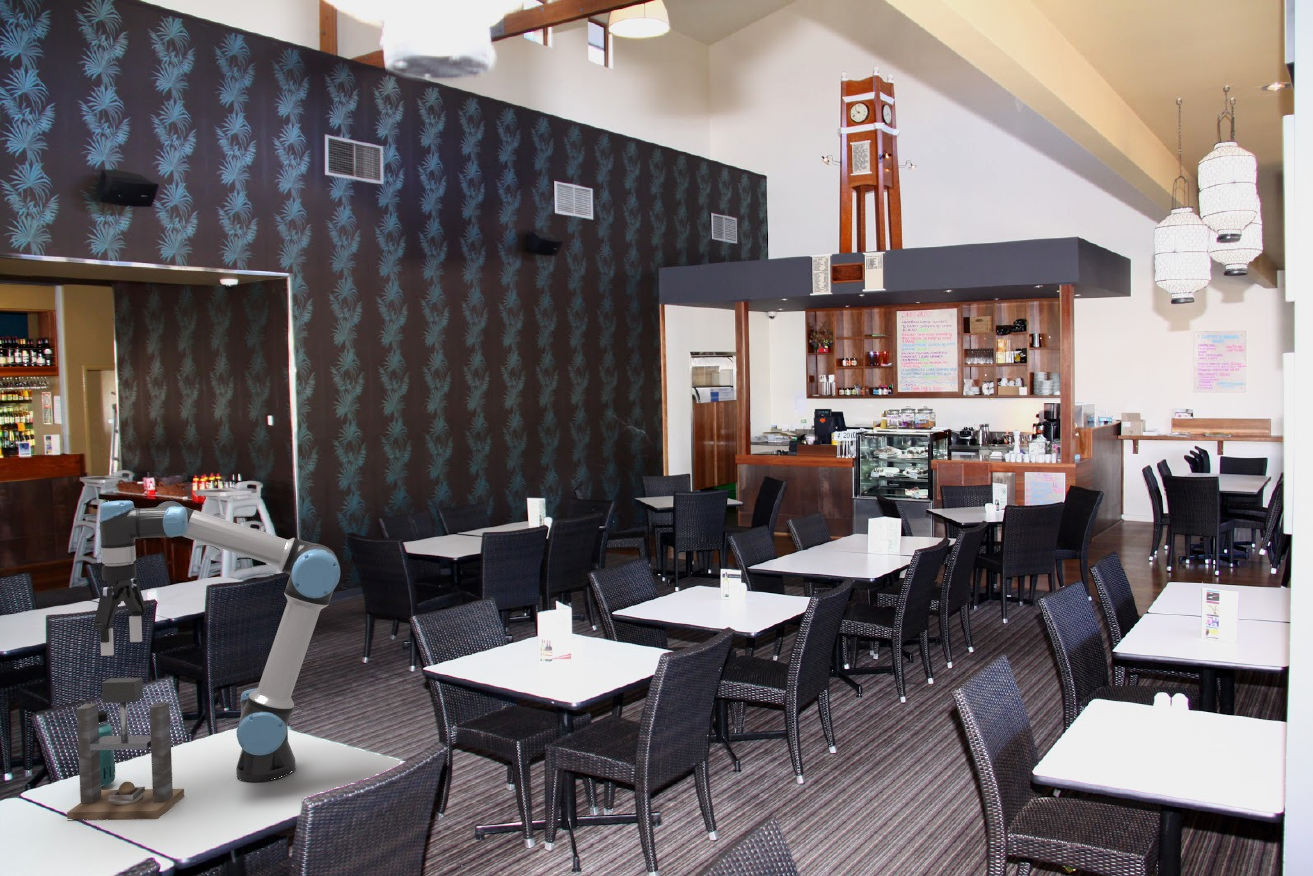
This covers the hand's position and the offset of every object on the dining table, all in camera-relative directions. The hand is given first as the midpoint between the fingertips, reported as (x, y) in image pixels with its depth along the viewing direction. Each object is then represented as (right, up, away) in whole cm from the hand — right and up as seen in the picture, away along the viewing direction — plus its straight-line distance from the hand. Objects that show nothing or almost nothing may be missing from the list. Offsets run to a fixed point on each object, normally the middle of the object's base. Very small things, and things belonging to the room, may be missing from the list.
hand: (122, 648), depth 252 cm
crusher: (0, -25, +1) cm, 24 cm away
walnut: (0, -36, +1) cm, 36 cm away
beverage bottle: (-14, -40, +16) cm, 45 cm away
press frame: (0, -40, +2) cm, 40 cm away
